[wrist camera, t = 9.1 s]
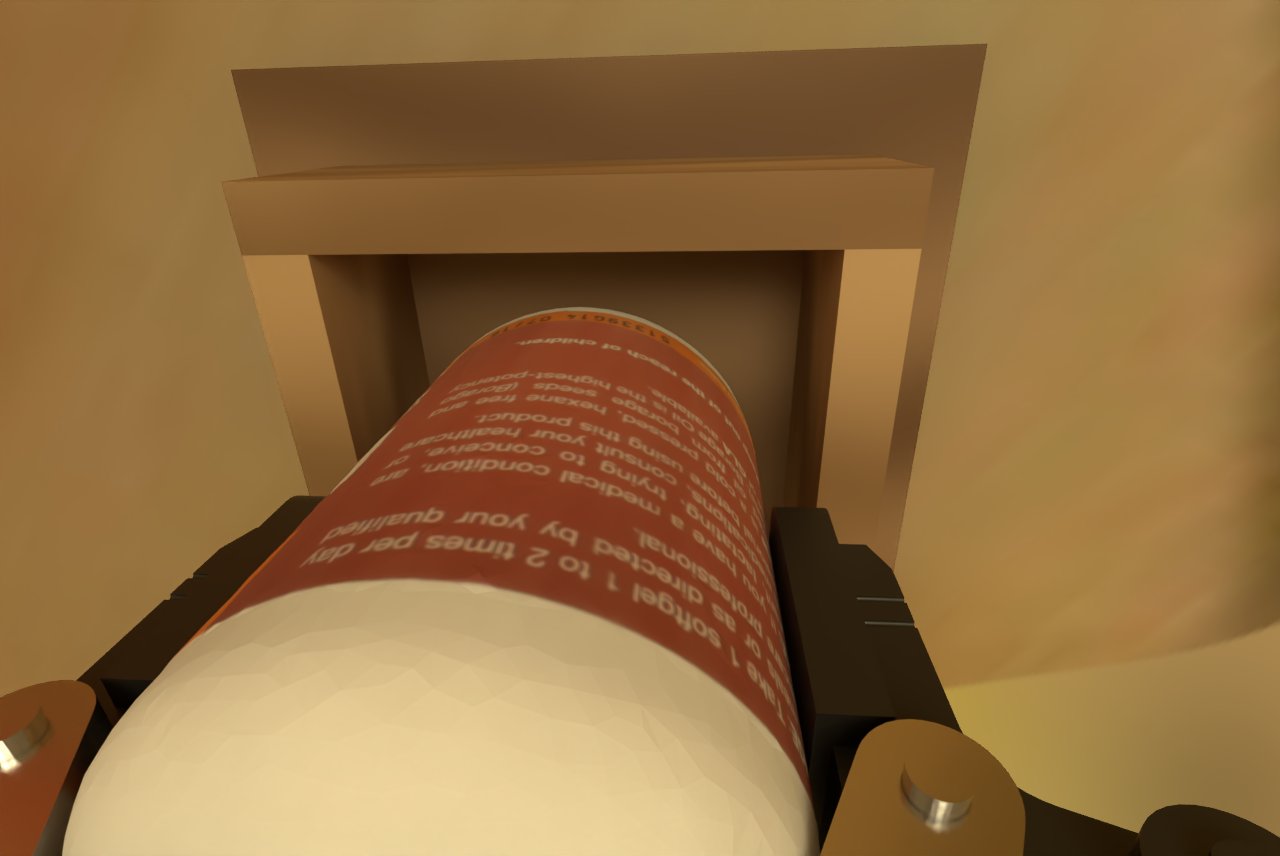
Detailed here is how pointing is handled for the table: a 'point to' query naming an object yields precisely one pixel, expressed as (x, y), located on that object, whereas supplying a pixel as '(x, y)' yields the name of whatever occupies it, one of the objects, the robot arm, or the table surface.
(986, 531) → the table surface
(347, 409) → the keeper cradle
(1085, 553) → the table surface
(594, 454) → the pill bottle
